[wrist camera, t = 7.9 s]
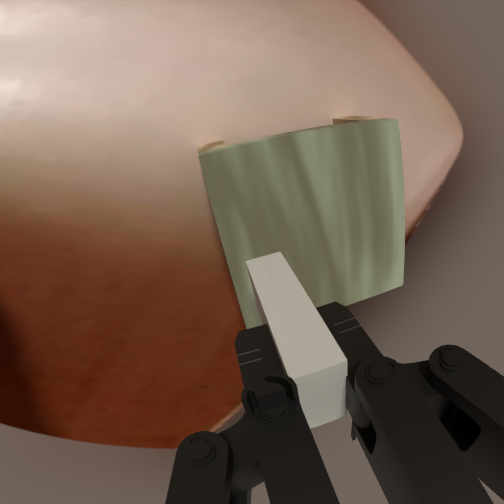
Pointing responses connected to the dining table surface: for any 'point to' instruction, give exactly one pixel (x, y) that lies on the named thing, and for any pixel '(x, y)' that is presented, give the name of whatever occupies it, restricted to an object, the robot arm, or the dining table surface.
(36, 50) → the dining table surface
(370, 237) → the footstool
